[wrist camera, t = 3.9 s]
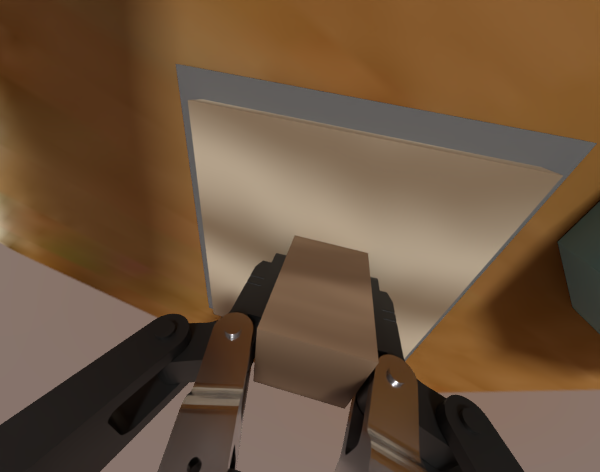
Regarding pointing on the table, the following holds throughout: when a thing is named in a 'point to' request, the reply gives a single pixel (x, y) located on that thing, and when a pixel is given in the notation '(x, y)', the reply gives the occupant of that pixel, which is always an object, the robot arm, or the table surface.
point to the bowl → (584, 266)
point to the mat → (377, 131)
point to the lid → (345, 234)
